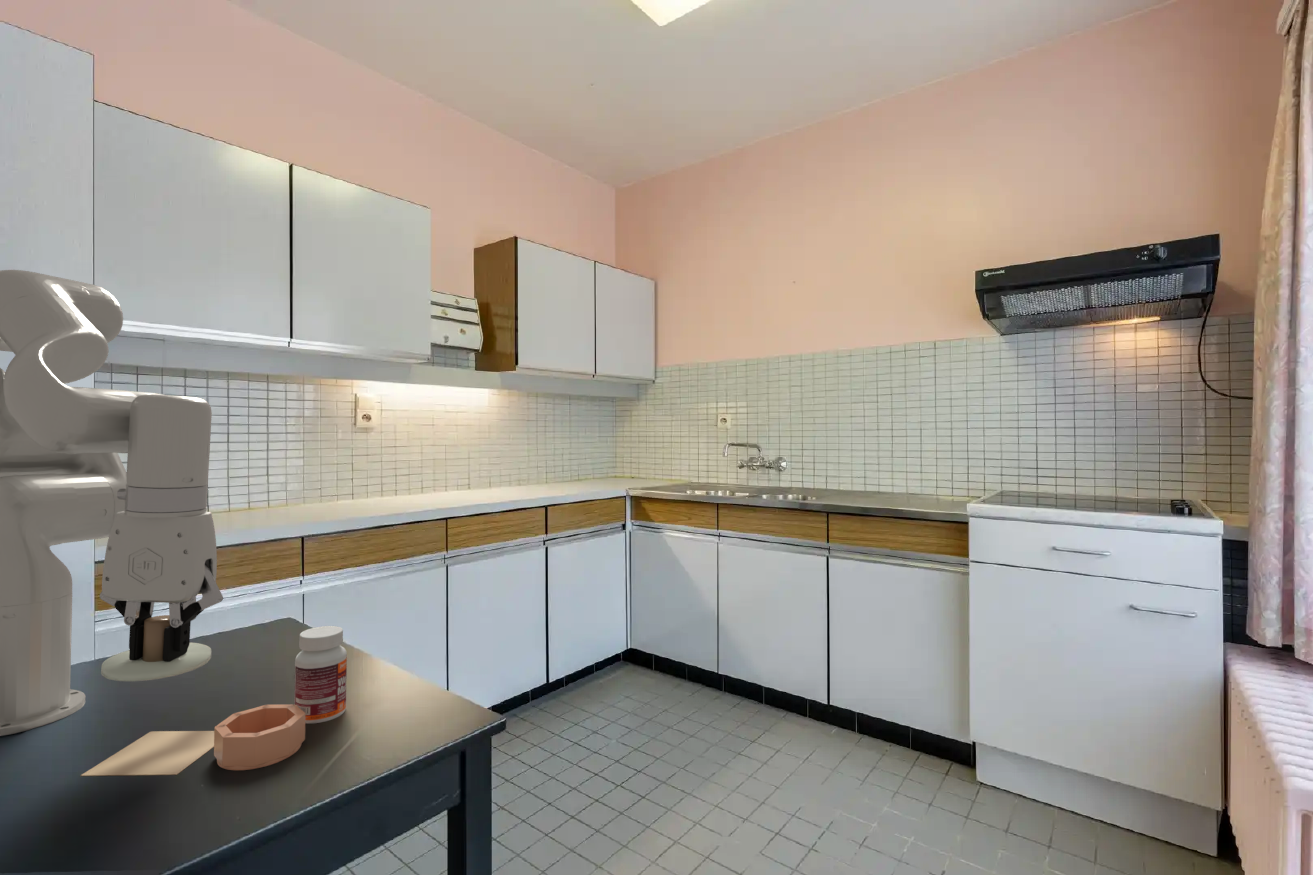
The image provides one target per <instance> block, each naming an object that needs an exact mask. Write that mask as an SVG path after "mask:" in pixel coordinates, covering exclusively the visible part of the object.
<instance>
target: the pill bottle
mask: <svg viewBox="0 0 1313 875" xmlns="http://www.w3.org/2000/svg"><path fill="white" fill-rule="evenodd" d="M298 640H299V643H298V644H299V645H298V646H299V647H298V648H299V649H300V650H301V651H300V652H299V653H298V654H296V657H295V660H294V697H293V699H294V700H293V701H294V702H293V703H294V704H295V705H296V706H298V707H299V708H300V709H301V710H302V711H304V712H305V713H306V715H305V724H317V723H324V722H328V721H331V720H334V719H337V718H339V717H341V716H342V715H343V714H344V713H345V712H346V710H347V680H348V679H347V677H348V676H347V675H348V673H347V671H348V670H347V667H348V666H347V661H348V660H347V659H348V655H347V654H348V652H347V649H346V648H345V647H344V646H342V644H343V643H344V630H343V628H342V627H340V626H336V625H335V626H334V625H324V626H317V627H312V628H308V629H305V630H303V631H302V632H300V633H299V639H298Z"/></svg>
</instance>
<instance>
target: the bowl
mask: <svg viewBox="0 0 1313 875" xmlns="http://www.w3.org/2000/svg"><path fill="white" fill-rule="evenodd" d="M305 715H306V713H305V712H304V711H302V710H301V709H300V708H299V707H298V706H296V705H295V704H290V703H289V704H288V703H287V704H264V705H260V706H257V707H254V708H249V709H245V710H242V711H238V712H234V713H232V714H231V715H229V716H227V718H225V719H224V720H222V721H221V722H219V723H218V724H217V725H215V726H214V728H213V729H214V730H213V731H214V747H213V756H214V757H215V759H216V764H217V765H218V766H219V767H220V768H222V769H225V770H228V771H246V770H248V771H249V770H255V769H259V768H263V767H267V766H268V767H269V766H271V765H274V764H277V763H279V762H282V761H283V760H287V759H288V758H291V756H292V755H294V754H295V753H297V752H298V751H299V749H300V748H301V746H302V743H303V742H304V741H305V740H306V723H305Z"/></svg>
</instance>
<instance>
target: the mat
mask: <svg viewBox="0 0 1313 875" xmlns="http://www.w3.org/2000/svg"><path fill="white" fill-rule="evenodd" d="M212 749H214V730H179V731H178V730H176V731H175V730H170V731H169V730H164V731H163V730H159V731H157V730H156V731H155V730H154V731H153V730H152V731H149V732H147V733H146V734H144V735H143V736H142V737H140V738H138V739H136V740H134V741H133V742H131V743H130V744H128V745H127V746H125V747H124V748H122V749H120V750H119V751H117V752H115V753H114V754H113V755H110V756H109V757H107V758H106V759H104V760H103V761H101V762H99V763H98V764H97V765H95V766H92V768H90V769H88V770H87V771H85V772H84V773H81V774H80V777H100V776H101V777H103V776H104V777H106V776H107V777H111V776H112V777H114V776H115V777H116V776H118V777H120V776H121V777H123V776H126V777H127V776H178V775H179V774H180V773H182V772H183V771H184V770H185V769H186V768H187V769H188V768H189V766H191V765H192V764H193V763H195V762H196V761H197V760H198V759H200V758H201V757H203V756H204V755H205V754H207V753H208V752H209V751H211V750H212Z"/></svg>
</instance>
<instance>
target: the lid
mask: <svg viewBox="0 0 1313 875" xmlns="http://www.w3.org/2000/svg"><path fill="white" fill-rule="evenodd" d="M169 626H170V616H169V614H163V615H156V616H152V617H150V618H147V619H146V620H144V637H143V654H142V658H140V659H138V660H130V659H129V653H130V649H127V650H125V651H122V652H120V653H119V652H118V653H116V654H114V655H112V656H110V657H108V658H107V659H105V660H104V661H102V664H101V669H100V670H101V671H100V674H101V676H102V677H103V678H105V679H107V680H110V681H114V682H115V681H116V682H145V681H154V680H160V679H166V678H172V677H176V676H178V675H179V676H180V675H182V674H185V673H188V672H189V673H190V672H192V671H195V670H196V669H199V668H201V667H203V666H204V665H206V664H207V663H209V661H211V659H212V648H211V647H210V646H209V645H206V644H204V643H198V642H190V643H189V647H188V650H187V652H186V653H185V654H184V655H182V656H180V657H178V658H176V659H174V660H172V661H170V662H166V661H164V660H163V640H164V629H165V628H166V627H169Z"/></svg>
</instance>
